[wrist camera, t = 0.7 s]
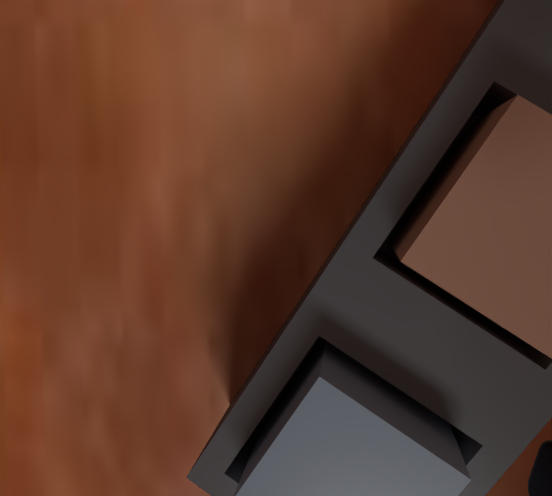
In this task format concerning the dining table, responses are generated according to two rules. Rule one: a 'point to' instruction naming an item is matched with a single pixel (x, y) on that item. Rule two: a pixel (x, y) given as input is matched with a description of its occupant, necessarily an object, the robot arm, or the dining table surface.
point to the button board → (416, 288)
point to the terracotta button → (492, 222)
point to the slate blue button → (352, 439)
